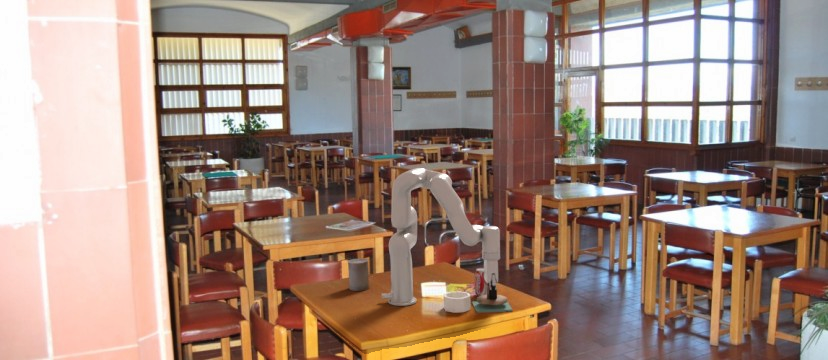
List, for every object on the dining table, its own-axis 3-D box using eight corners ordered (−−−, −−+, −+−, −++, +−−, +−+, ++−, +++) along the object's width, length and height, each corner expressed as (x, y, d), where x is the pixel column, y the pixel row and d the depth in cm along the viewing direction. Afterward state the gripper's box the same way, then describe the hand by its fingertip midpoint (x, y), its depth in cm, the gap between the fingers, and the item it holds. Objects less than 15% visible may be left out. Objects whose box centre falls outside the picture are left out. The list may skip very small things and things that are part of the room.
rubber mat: (476, 312, 289) (476, 310, 289) (472, 303, 303) (472, 301, 303) (512, 311, 290) (512, 309, 290) (506, 301, 304) (506, 300, 304)
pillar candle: (371, 286, 336) (369, 255, 334) (366, 291, 326) (365, 260, 325) (352, 285, 338) (350, 255, 336) (346, 291, 328) (345, 260, 327)
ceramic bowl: (445, 312, 290) (445, 299, 289) (443, 305, 301) (442, 292, 300) (471, 311, 290) (471, 298, 290) (468, 304, 301) (468, 290, 301)
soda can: (489, 297, 311) (489, 271, 310) (474, 297, 312) (473, 271, 311) (491, 293, 318) (490, 267, 316) (476, 292, 319) (475, 267, 318)
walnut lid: (479, 305, 289) (478, 291, 288) (474, 297, 302) (474, 283, 301) (509, 304, 290) (509, 290, 289) (504, 296, 303) (504, 282, 302)
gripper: (479, 251, 302) (480, 292, 304) (485, 260, 285) (486, 303, 287) (496, 250, 302) (497, 291, 304) (503, 259, 286) (504, 302, 288)
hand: (491, 296), depth 296 cm, fingers closed on walnut lid, 4 cm apart
